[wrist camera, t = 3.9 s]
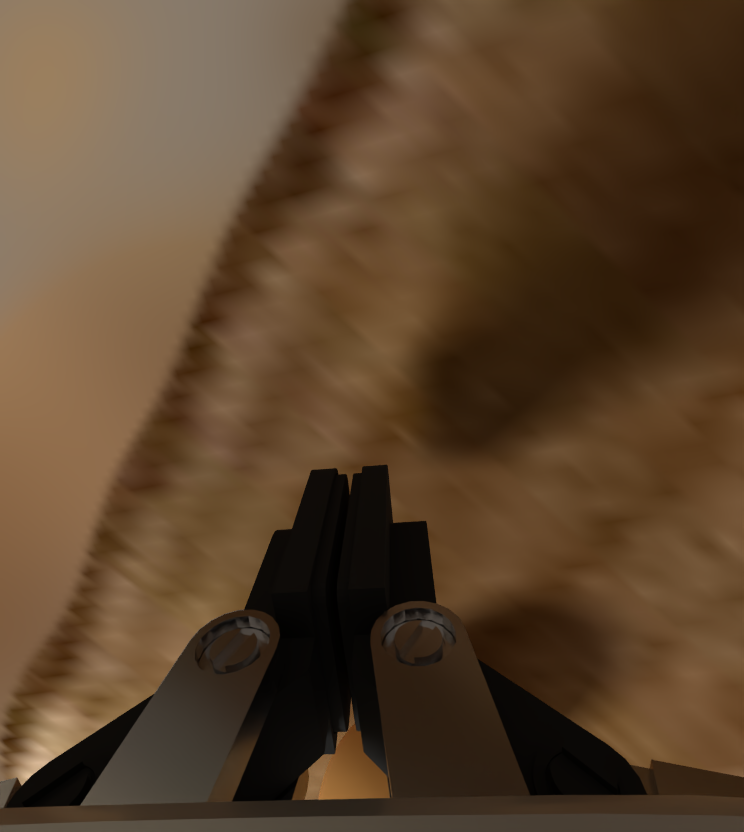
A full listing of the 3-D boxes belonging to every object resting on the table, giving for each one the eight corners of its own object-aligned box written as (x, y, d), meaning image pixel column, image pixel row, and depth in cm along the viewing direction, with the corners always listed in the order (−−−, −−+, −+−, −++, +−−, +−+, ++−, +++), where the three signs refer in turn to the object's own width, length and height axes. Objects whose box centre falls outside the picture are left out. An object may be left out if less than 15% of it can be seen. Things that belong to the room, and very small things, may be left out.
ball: (322, 653, 16) (276, 881, 10) (510, 650, 15) (568, 888, 10) (343, 778, 18) (314, 1022, 13) (509, 779, 18) (557, 1037, 12)
